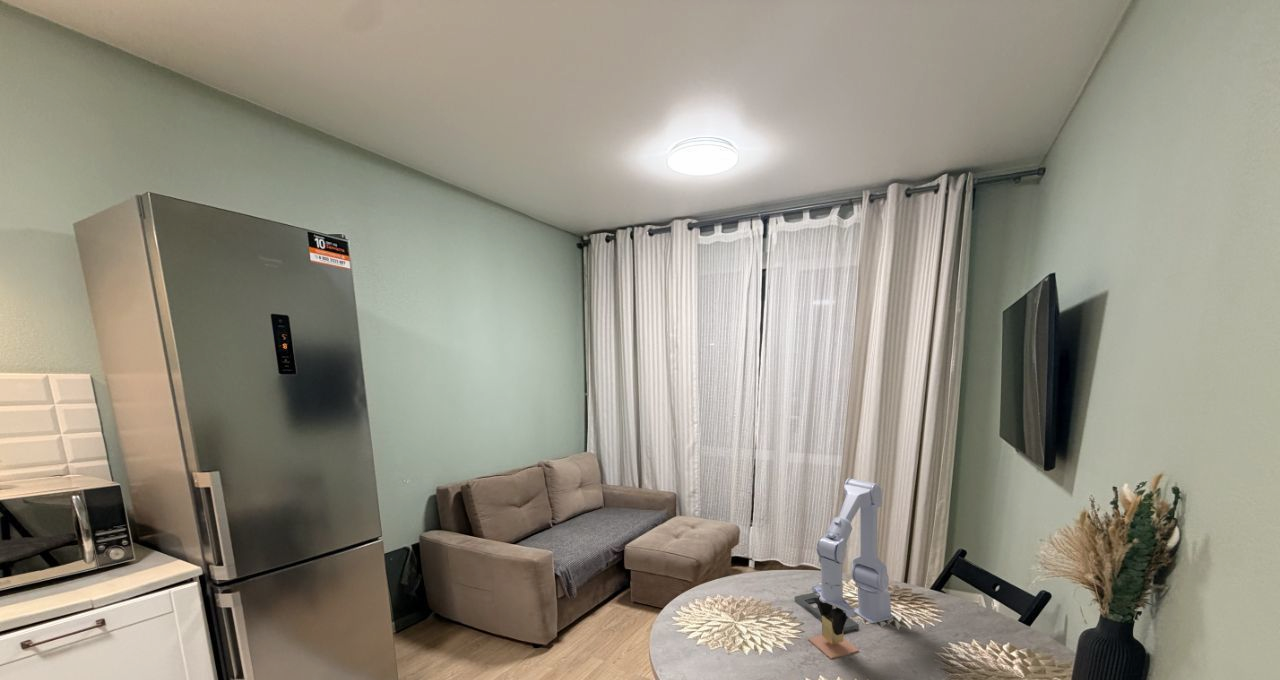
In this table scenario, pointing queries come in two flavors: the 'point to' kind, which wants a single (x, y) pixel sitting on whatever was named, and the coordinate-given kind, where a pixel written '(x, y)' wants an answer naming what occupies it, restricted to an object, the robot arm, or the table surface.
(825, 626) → the cube with round inset
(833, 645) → the terracotta mat
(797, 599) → the metal rail
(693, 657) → the table surface
